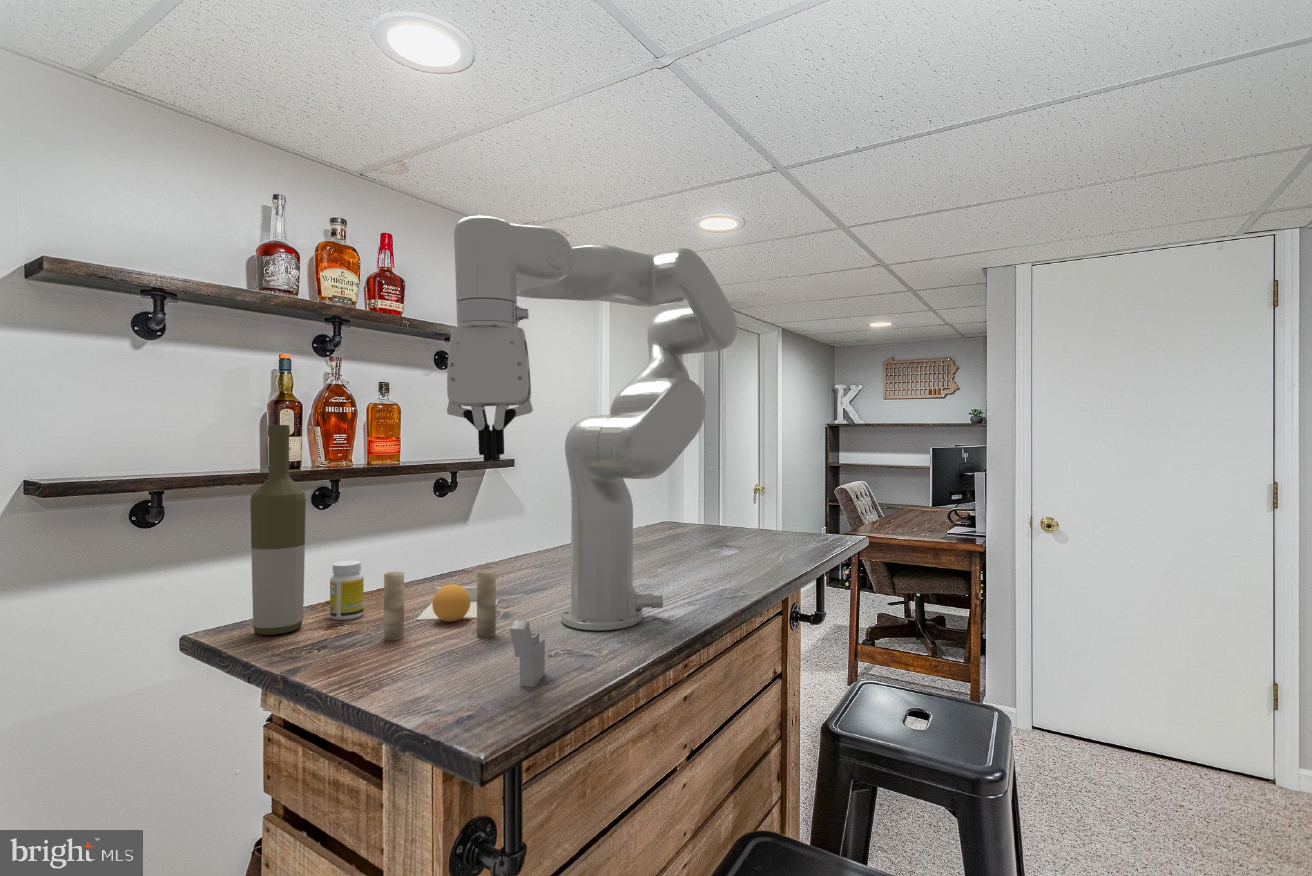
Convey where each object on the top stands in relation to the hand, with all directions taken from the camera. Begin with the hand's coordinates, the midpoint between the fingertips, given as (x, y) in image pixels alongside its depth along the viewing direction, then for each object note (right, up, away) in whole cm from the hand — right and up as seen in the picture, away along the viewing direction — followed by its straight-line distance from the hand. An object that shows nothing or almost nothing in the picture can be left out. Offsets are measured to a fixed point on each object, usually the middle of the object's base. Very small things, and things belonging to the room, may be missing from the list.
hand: (492, 460), depth 82 cm
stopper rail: (-11, -25, +27) cm, 39 cm away
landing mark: (-11, -25, +22) cm, 35 cm away
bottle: (-34, -25, +10) cm, 44 cm away
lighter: (+7, -26, -9) cm, 28 cm away
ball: (-10, -22, +15) cm, 29 cm away
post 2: (-3, -25, +9) cm, 27 cm away
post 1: (-16, -25, +7) cm, 31 cm away
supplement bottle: (-28, -25, +18) cm, 42 cm away
